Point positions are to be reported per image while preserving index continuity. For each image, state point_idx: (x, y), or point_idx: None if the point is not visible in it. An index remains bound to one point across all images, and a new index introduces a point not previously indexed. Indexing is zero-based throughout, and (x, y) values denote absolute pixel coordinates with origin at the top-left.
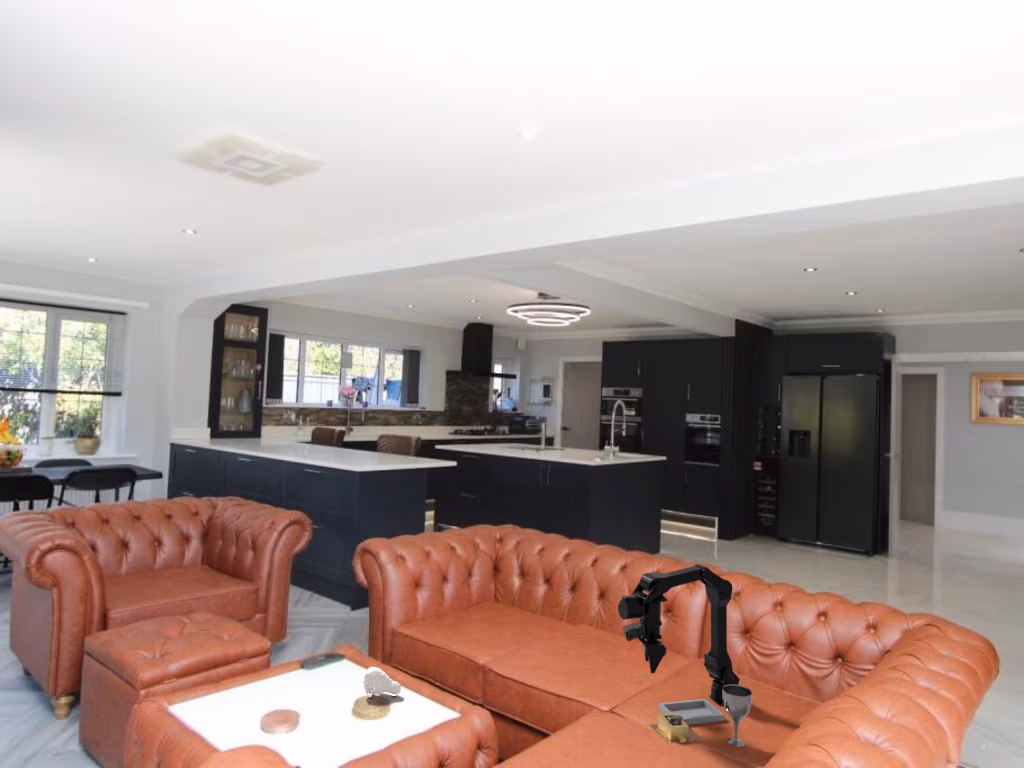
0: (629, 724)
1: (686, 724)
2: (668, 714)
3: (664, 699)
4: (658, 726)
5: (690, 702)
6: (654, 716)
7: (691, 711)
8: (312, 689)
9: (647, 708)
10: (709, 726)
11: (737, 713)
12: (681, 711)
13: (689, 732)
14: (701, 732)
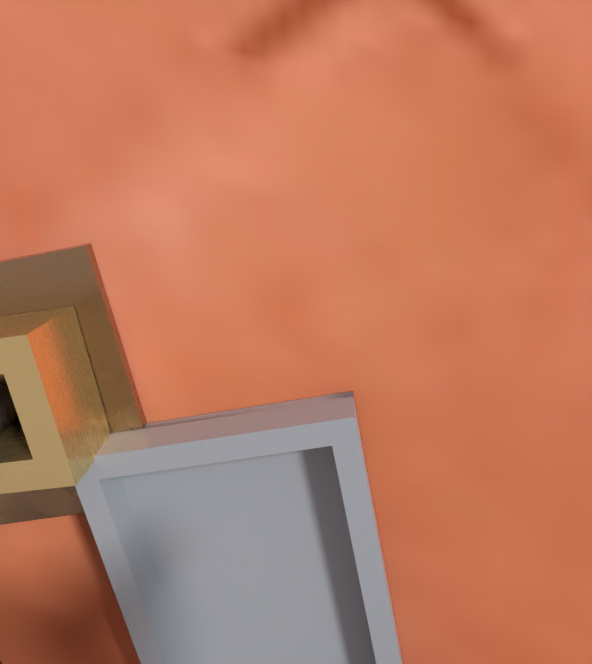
0: (107, 76)
1: None
2: (36, 422)
3: (539, 489)
4: (59, 308)
5: (373, 640)
6: (257, 331)
7: (306, 598)
8: None
9: (397, 315)
10: None
11: None
12: (307, 539)
13: None
14: (45, 558)
